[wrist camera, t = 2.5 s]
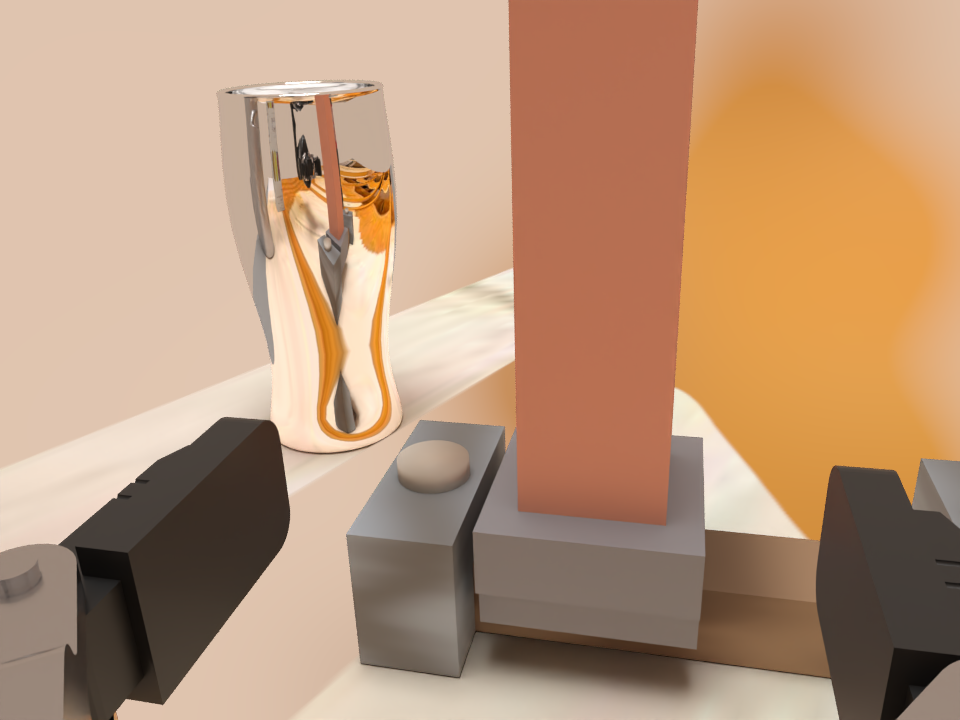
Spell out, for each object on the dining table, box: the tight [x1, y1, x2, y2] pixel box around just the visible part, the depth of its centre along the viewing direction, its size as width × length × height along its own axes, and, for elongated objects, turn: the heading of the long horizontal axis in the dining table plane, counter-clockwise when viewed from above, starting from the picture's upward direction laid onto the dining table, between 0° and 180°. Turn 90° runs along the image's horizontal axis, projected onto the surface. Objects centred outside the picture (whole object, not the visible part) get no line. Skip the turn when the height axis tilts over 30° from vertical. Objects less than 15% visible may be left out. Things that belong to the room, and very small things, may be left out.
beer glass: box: [217, 80, 402, 453], centre depth 37 cm, size 7×7×15 cm
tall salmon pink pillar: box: [473, 0, 705, 650], centre depth 23 cm, size 6×6×17 cm
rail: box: [346, 420, 960, 678], centre depth 25 cm, size 19×7×5 cm, turn 77°
